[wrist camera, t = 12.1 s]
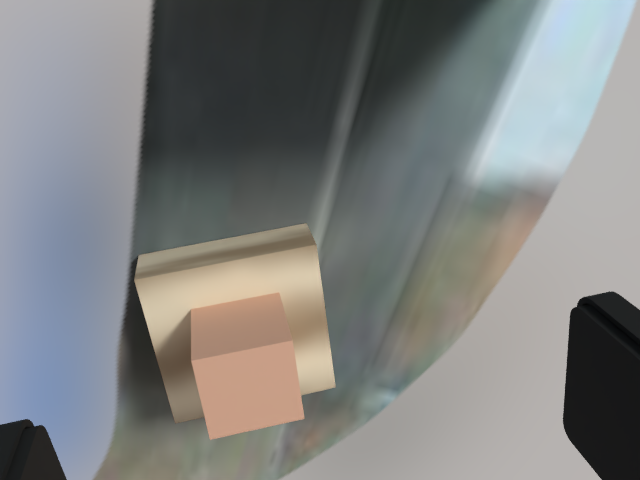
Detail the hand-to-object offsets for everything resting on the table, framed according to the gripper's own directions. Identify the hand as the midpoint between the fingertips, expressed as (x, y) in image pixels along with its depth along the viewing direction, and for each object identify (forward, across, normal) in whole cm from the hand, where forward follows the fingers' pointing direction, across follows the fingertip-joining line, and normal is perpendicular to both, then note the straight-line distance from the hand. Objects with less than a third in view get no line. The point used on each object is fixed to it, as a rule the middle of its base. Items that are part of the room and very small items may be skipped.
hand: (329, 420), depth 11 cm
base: (+28, +2, +14) cm, 32 cm away
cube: (+25, +2, +14) cm, 29 cm away
